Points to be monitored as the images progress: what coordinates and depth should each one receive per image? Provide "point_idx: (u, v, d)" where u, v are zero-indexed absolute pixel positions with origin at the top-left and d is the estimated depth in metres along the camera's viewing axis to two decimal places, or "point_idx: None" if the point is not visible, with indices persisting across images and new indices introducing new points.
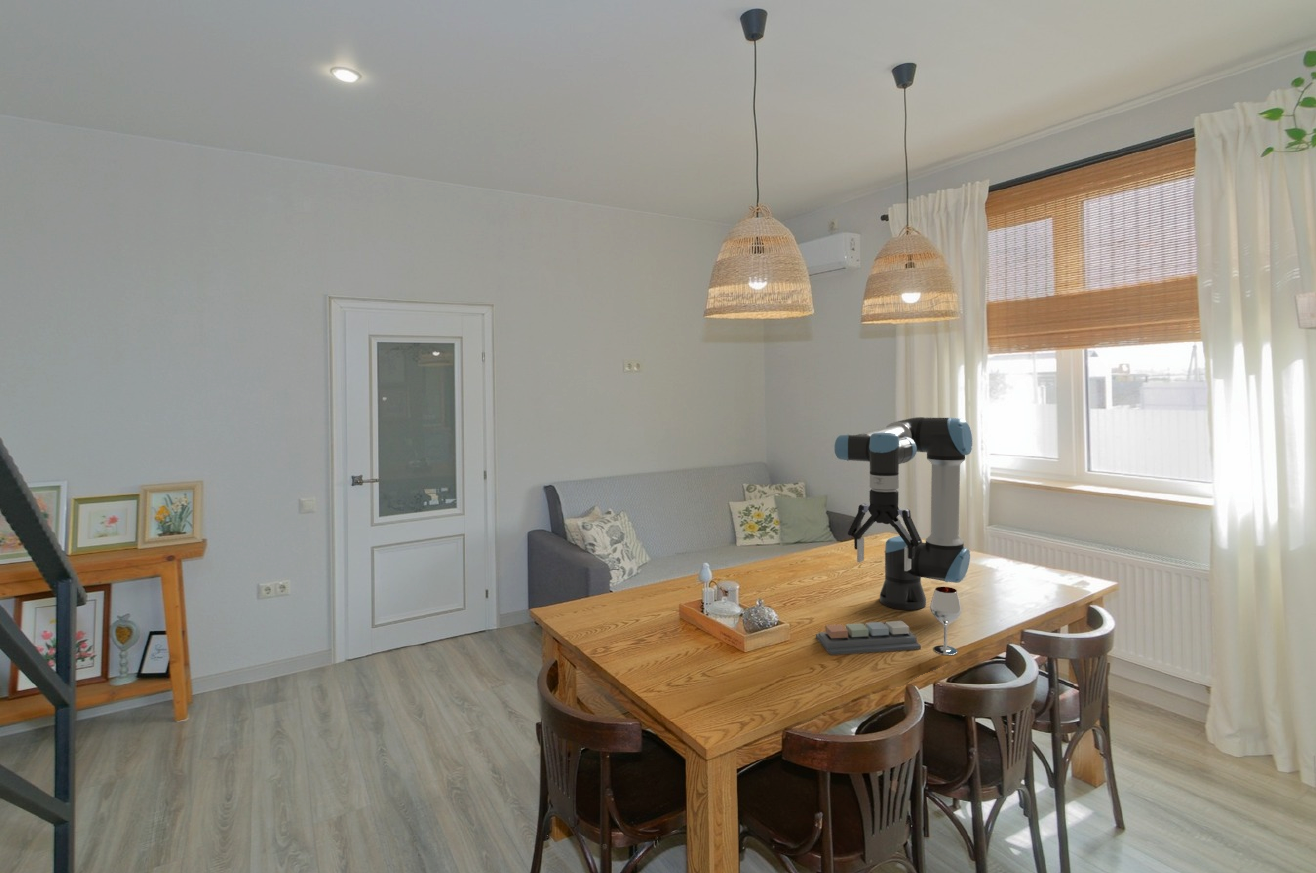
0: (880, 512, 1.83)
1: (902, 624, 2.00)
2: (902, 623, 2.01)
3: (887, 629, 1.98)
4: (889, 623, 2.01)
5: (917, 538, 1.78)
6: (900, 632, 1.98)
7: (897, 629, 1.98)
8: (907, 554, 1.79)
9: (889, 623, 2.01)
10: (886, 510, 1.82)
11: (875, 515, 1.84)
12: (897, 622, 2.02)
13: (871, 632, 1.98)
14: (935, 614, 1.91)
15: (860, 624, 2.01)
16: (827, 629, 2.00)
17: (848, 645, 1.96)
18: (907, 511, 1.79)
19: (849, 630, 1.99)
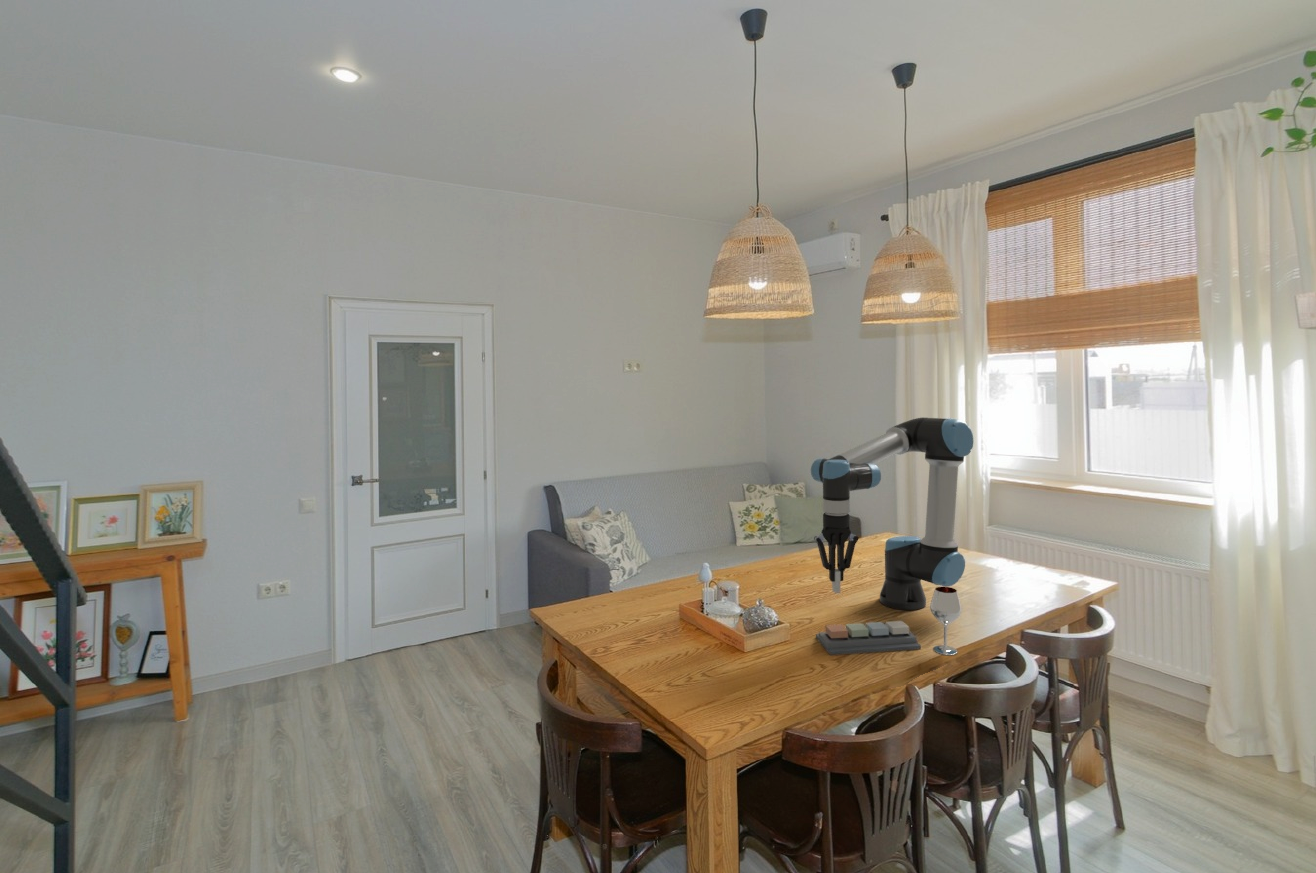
0: None
1: (902, 624, 2.00)
2: (902, 623, 2.01)
3: (887, 629, 1.98)
4: (889, 623, 2.01)
5: (822, 562, 1.97)
6: (900, 632, 1.98)
7: (897, 629, 1.98)
8: None
9: (889, 623, 2.01)
10: None
11: None
12: (897, 622, 2.02)
13: (871, 632, 1.98)
14: (935, 614, 1.91)
15: (860, 624, 2.01)
16: (827, 629, 2.00)
17: (848, 645, 1.96)
18: (815, 539, 1.96)
19: (849, 630, 1.99)
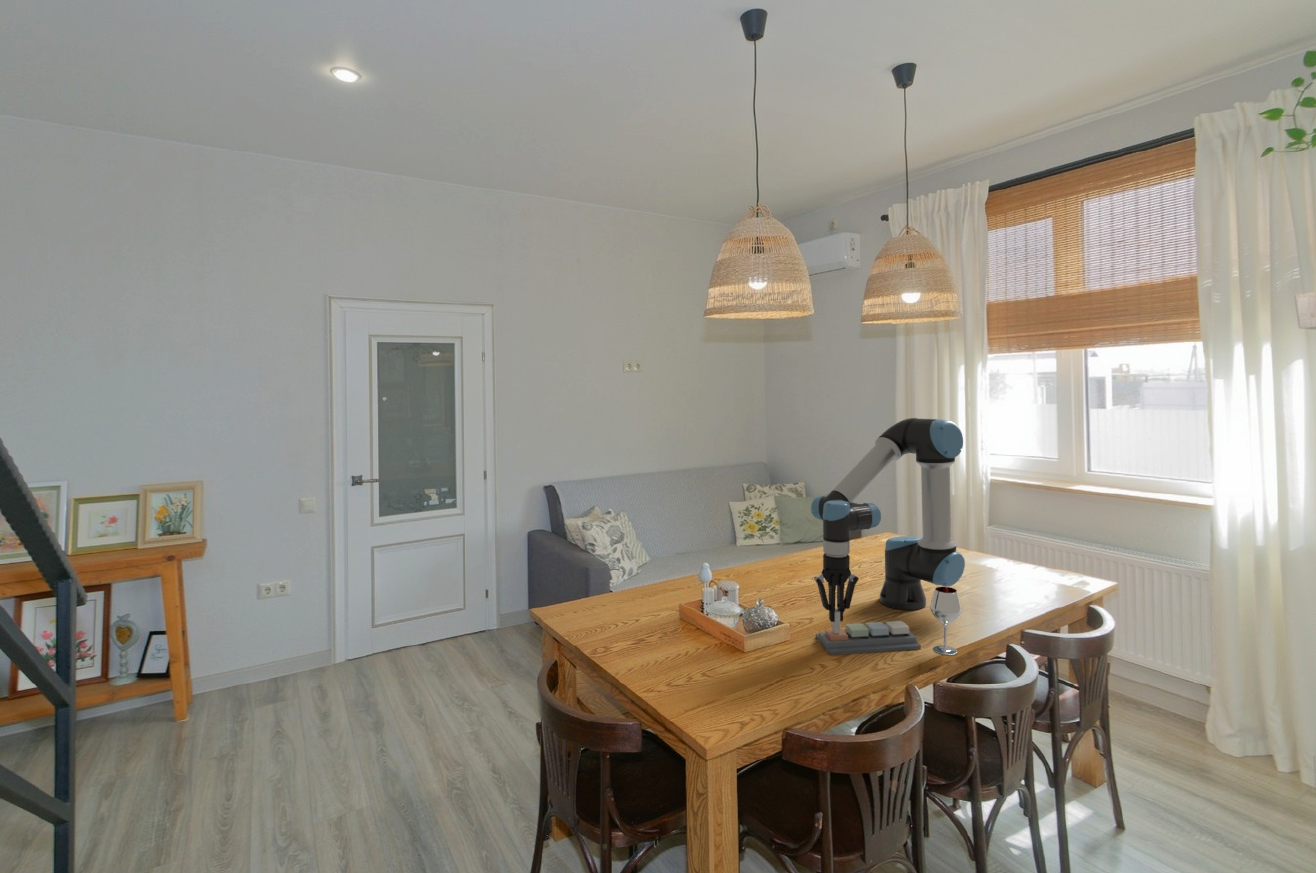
0: None
1: (902, 624, 2.00)
2: (902, 623, 2.01)
3: (887, 629, 1.98)
4: (889, 623, 2.01)
5: (822, 602, 1.98)
6: (900, 632, 1.98)
7: (897, 629, 1.98)
8: None
9: (889, 623, 2.01)
10: None
11: None
12: (897, 622, 2.02)
13: (871, 632, 1.98)
14: (935, 614, 1.91)
15: (860, 624, 2.01)
16: (827, 633, 2.00)
17: (848, 645, 1.96)
18: (815, 580, 1.97)
19: (849, 630, 1.99)
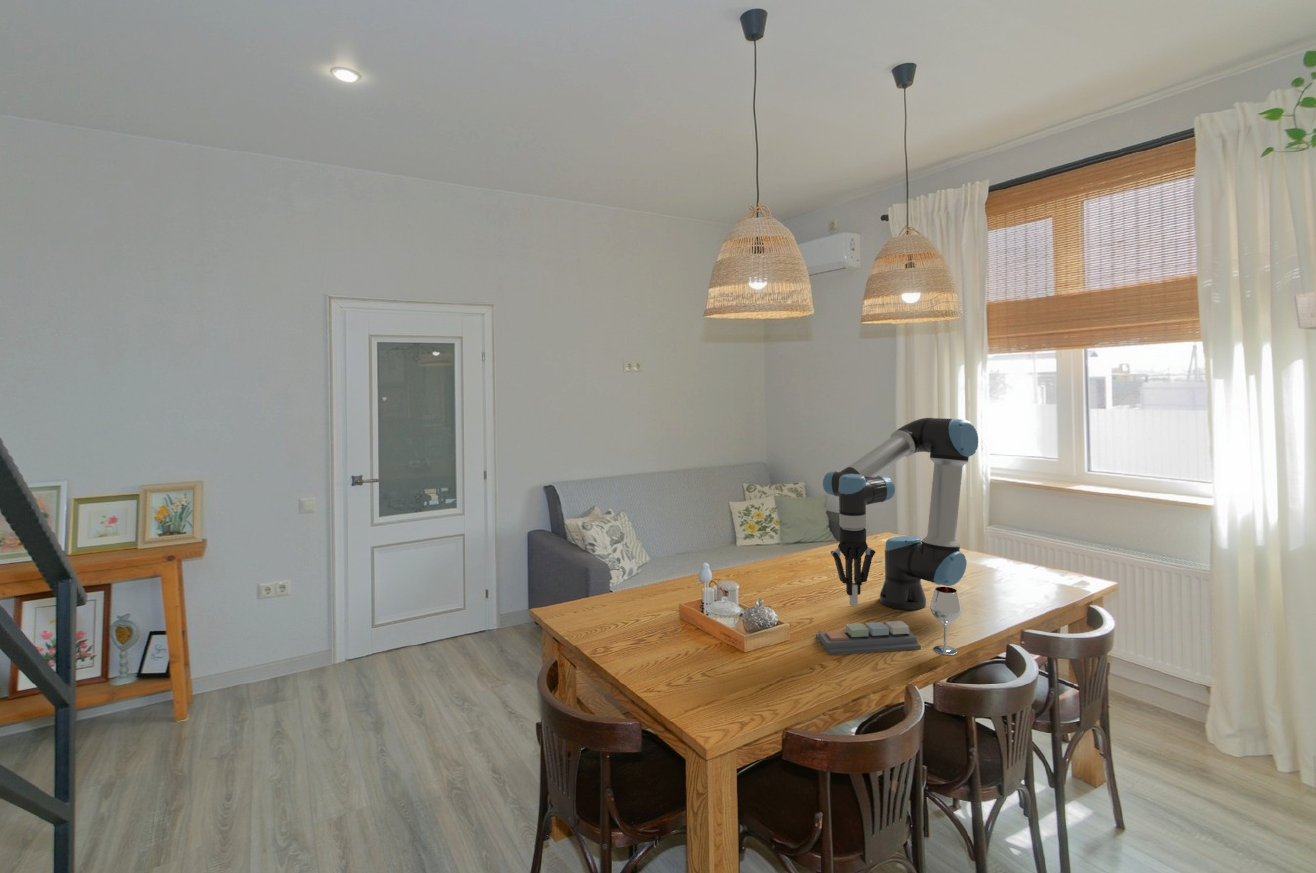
0: None
1: (902, 624, 2.00)
2: (902, 623, 2.01)
3: (887, 629, 1.98)
4: (889, 623, 2.01)
5: (839, 576, 1.98)
6: (900, 632, 1.98)
7: (897, 629, 1.98)
8: None
9: (889, 623, 2.01)
10: None
11: None
12: (897, 622, 2.02)
13: (871, 632, 1.98)
14: (935, 614, 1.91)
15: (860, 624, 2.01)
16: (827, 635, 2.00)
17: (848, 645, 1.96)
18: (831, 553, 1.97)
19: (849, 630, 1.99)
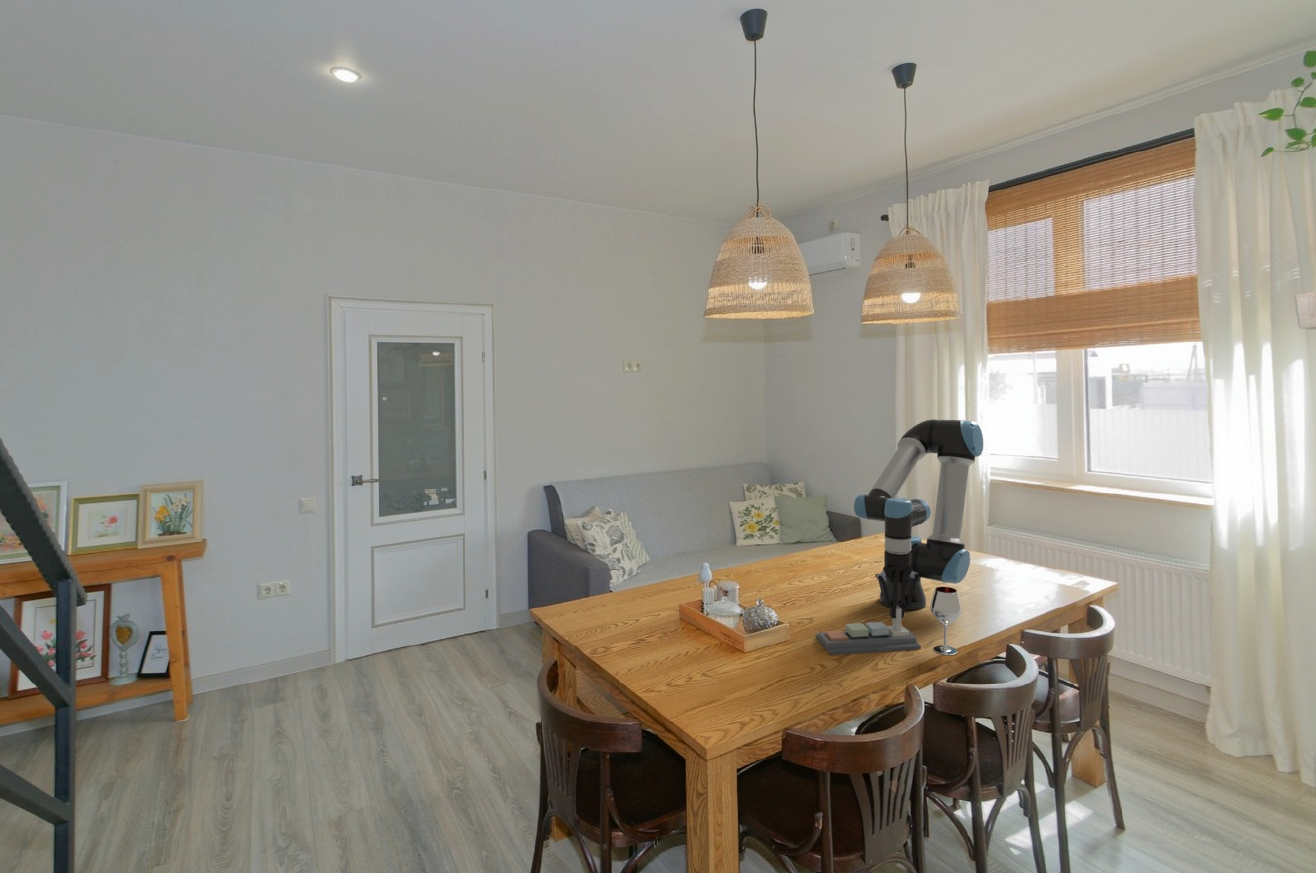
0: None
1: (902, 628, 2.01)
2: (902, 628, 2.01)
3: (887, 629, 1.98)
4: (889, 627, 2.02)
5: (883, 599, 2.00)
6: None
7: (897, 634, 1.98)
8: None
9: None
10: None
11: None
12: None
13: (871, 632, 1.98)
14: (935, 614, 1.91)
15: (860, 624, 2.01)
16: (827, 635, 2.00)
17: (848, 645, 1.96)
18: (876, 576, 1.99)
19: (849, 630, 1.99)
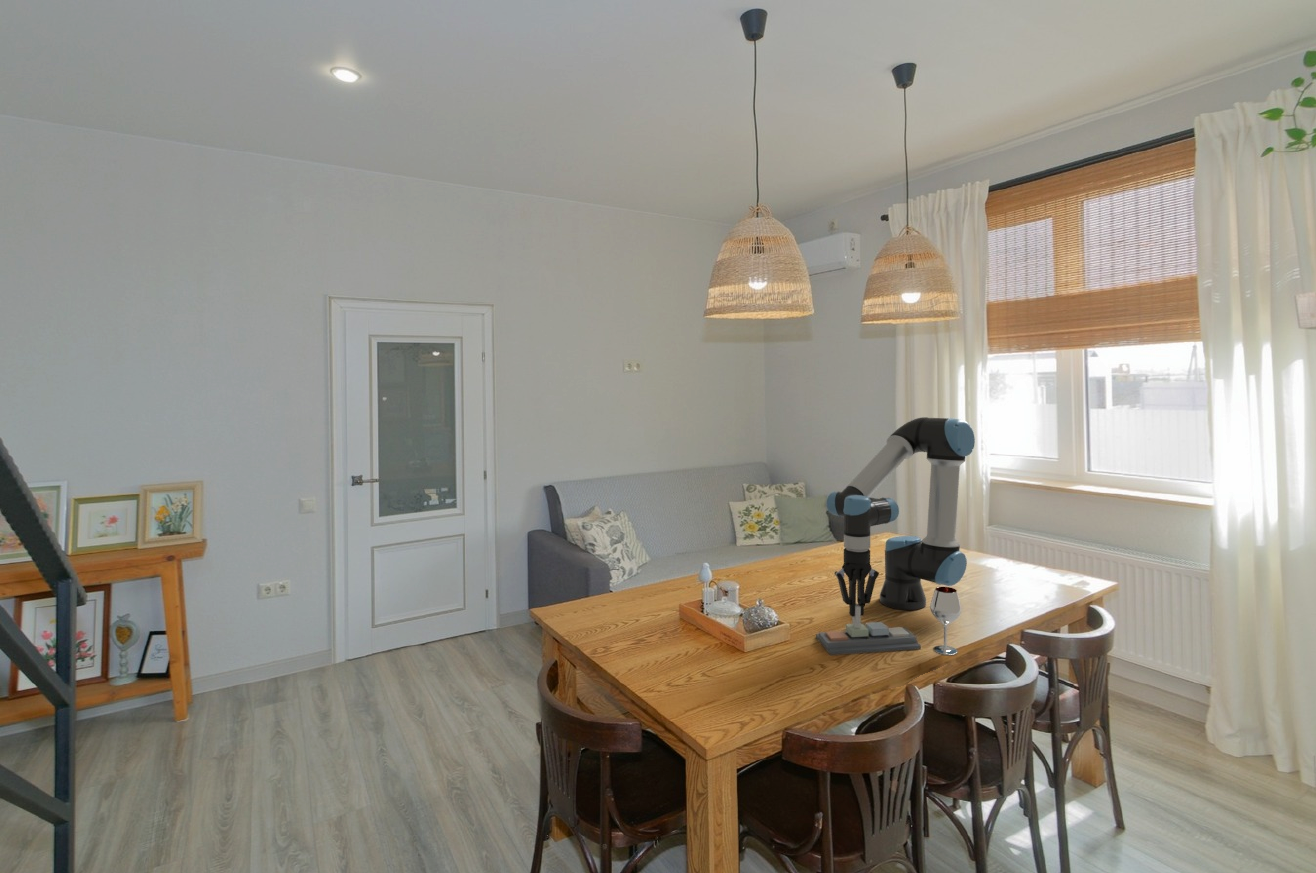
0: None
1: (902, 630, 2.01)
2: (902, 630, 2.01)
3: (887, 629, 1.98)
4: (889, 629, 2.02)
5: (843, 597, 1.99)
6: None
7: (897, 636, 1.98)
8: None
9: None
10: None
11: None
12: (897, 629, 2.02)
13: (871, 632, 1.98)
14: (935, 614, 1.91)
15: None
16: (827, 635, 2.00)
17: (848, 645, 1.96)
18: (835, 574, 1.98)
19: (849, 630, 1.99)
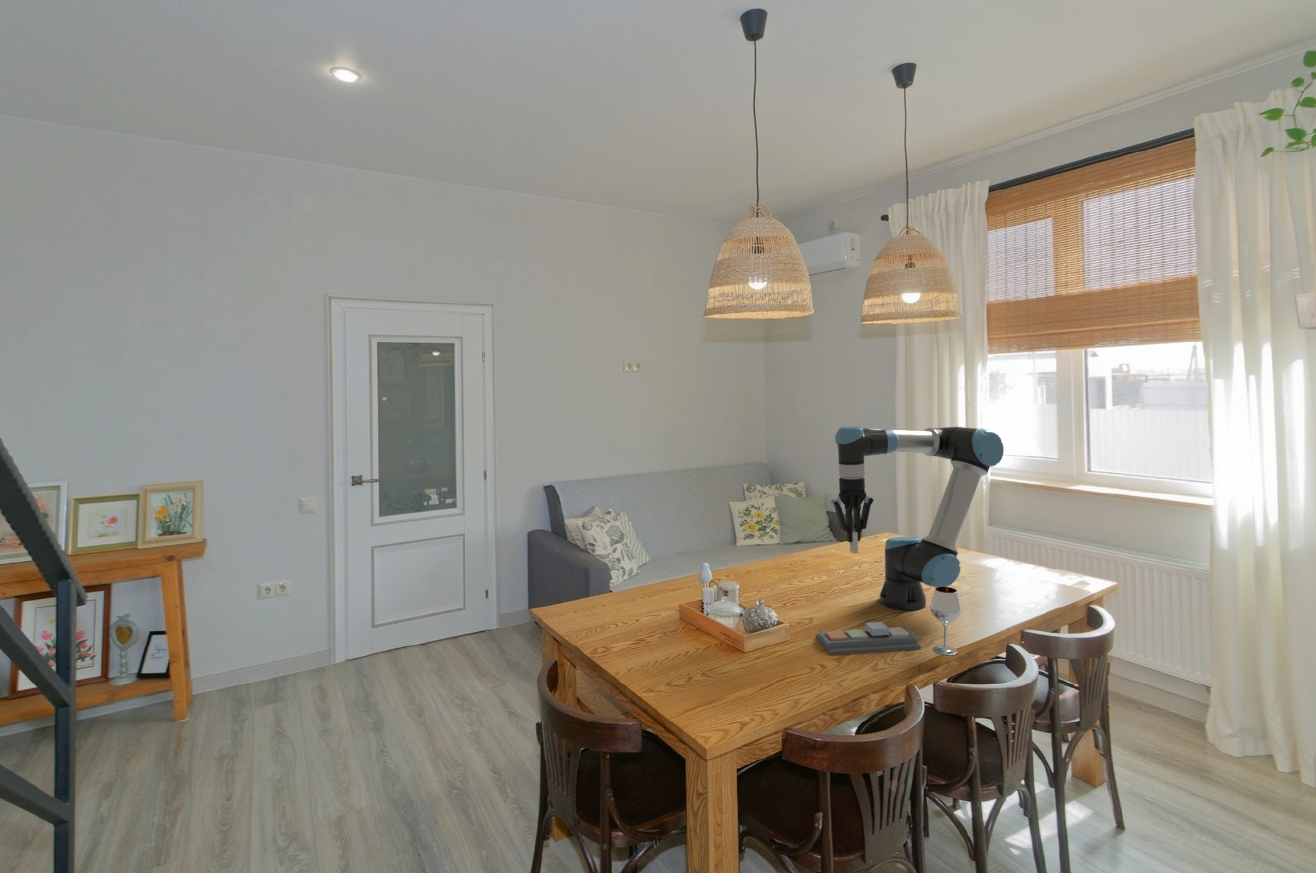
0: None
1: (902, 630, 2.01)
2: (902, 630, 2.01)
3: (887, 629, 1.98)
4: (889, 629, 2.02)
5: (840, 524, 2.07)
6: None
7: (897, 636, 1.98)
8: None
9: None
10: None
11: None
12: (897, 629, 2.02)
13: (871, 632, 1.98)
14: (935, 614, 1.91)
15: (860, 630, 2.01)
16: (827, 635, 2.00)
17: (848, 645, 1.96)
18: (832, 503, 2.06)
19: (849, 637, 1.99)
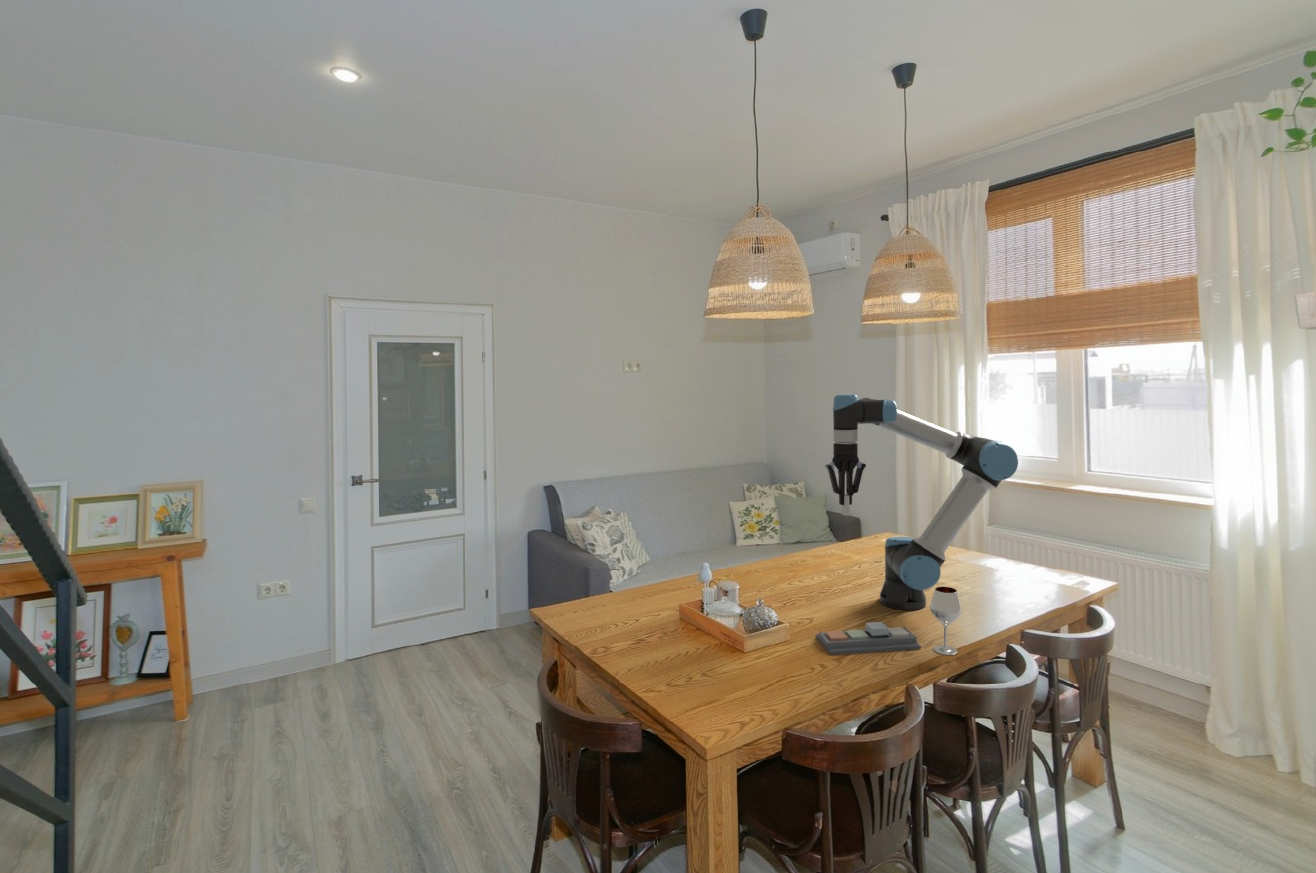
0: None
1: (902, 630, 2.01)
2: (902, 630, 2.01)
3: (887, 629, 1.98)
4: (889, 629, 2.02)
5: (833, 488, 2.17)
6: None
7: (897, 636, 1.98)
8: None
9: None
10: None
11: None
12: (897, 629, 2.02)
13: (871, 632, 1.98)
14: (935, 614, 1.91)
15: (860, 630, 2.01)
16: (827, 635, 2.00)
17: (848, 645, 1.96)
18: (826, 466, 2.16)
19: (849, 637, 1.99)
